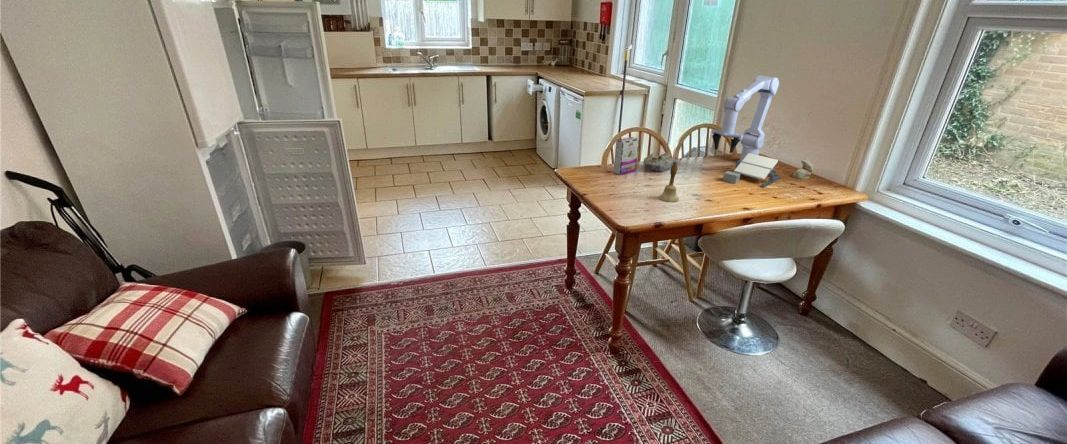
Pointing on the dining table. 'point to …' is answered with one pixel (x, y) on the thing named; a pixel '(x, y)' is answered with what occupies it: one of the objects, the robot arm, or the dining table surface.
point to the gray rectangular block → (731, 177)
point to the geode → (659, 162)
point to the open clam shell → (804, 170)
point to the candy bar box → (626, 155)
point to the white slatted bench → (772, 175)
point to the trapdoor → (756, 166)
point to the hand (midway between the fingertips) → (723, 150)
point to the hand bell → (670, 187)
